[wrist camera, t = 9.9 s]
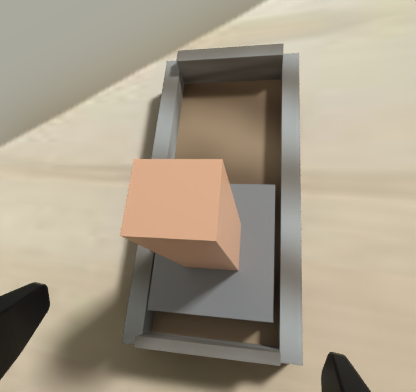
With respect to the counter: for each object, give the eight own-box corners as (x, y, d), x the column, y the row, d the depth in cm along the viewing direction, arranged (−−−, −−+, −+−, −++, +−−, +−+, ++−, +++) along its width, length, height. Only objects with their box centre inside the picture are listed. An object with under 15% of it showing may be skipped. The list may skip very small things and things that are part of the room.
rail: (297, 357, 19) (305, 369, 15) (139, 338, 21) (114, 344, 17) (295, 78, 26) (300, 42, 22) (176, 84, 28) (163, 51, 24)
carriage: (272, 320, 18) (281, 340, 8) (158, 309, 20) (46, 314, 10) (274, 195, 21) (283, 92, 11) (173, 192, 22) (97, 99, 12)
